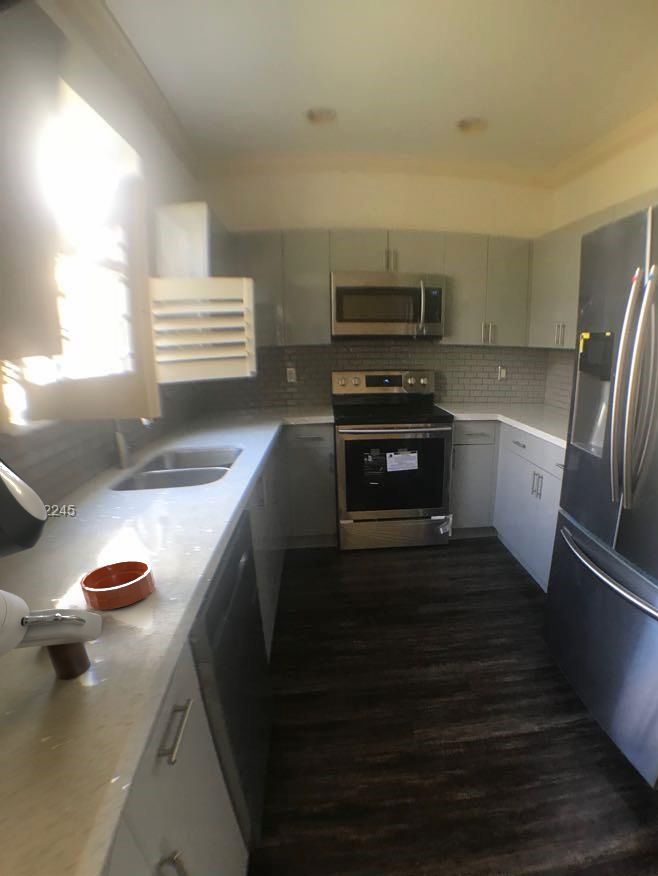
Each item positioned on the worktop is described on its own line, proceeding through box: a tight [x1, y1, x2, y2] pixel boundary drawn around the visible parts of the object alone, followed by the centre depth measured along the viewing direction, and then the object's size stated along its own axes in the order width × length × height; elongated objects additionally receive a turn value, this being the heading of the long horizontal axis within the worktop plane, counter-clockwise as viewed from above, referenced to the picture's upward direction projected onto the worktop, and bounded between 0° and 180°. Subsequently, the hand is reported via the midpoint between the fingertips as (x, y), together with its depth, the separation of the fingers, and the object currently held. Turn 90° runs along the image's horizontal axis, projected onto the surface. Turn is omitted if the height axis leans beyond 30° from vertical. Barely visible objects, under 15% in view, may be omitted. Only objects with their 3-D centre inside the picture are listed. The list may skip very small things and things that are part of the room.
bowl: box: [79, 559, 156, 610], centre depth 97 cm, size 13×13×5 cm
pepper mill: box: [45, 642, 91, 680], centre depth 74 cm, size 5×5×11 cm
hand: (49, 640), depth 70 cm, fingers open, 8 cm apart
